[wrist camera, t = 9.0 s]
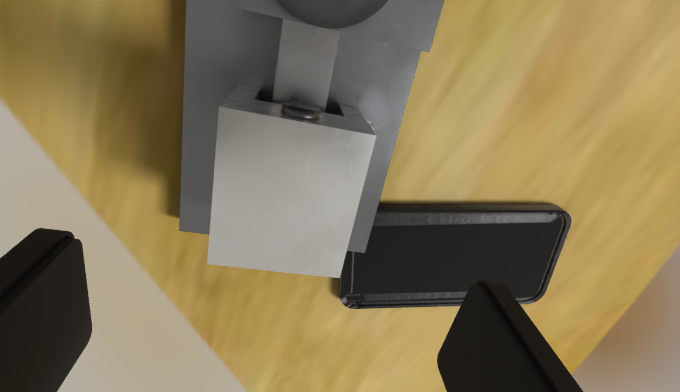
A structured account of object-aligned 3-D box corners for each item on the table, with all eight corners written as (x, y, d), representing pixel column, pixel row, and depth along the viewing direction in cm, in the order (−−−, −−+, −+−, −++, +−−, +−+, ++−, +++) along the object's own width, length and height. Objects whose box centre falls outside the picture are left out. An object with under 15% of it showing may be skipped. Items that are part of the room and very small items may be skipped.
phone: (345, 209, 22) (576, 210, 23) (344, 201, 23) (565, 202, 24) (339, 310, 25) (541, 305, 27) (337, 299, 26) (532, 294, 28)
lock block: (227, 211, 21) (207, 263, 16) (239, 79, 18) (219, 98, 13) (331, 224, 22) (339, 278, 17) (359, 102, 19) (378, 128, 14)
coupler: (197, -107, 15) (90, -243, 7) (438, -40, 17) (555, -93, 9) (185, 220, 22) (120, 332, 14) (361, 242, 24) (392, 351, 16)
